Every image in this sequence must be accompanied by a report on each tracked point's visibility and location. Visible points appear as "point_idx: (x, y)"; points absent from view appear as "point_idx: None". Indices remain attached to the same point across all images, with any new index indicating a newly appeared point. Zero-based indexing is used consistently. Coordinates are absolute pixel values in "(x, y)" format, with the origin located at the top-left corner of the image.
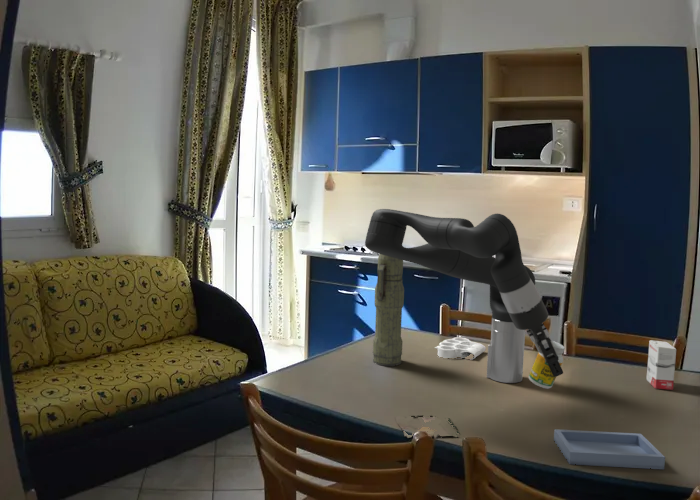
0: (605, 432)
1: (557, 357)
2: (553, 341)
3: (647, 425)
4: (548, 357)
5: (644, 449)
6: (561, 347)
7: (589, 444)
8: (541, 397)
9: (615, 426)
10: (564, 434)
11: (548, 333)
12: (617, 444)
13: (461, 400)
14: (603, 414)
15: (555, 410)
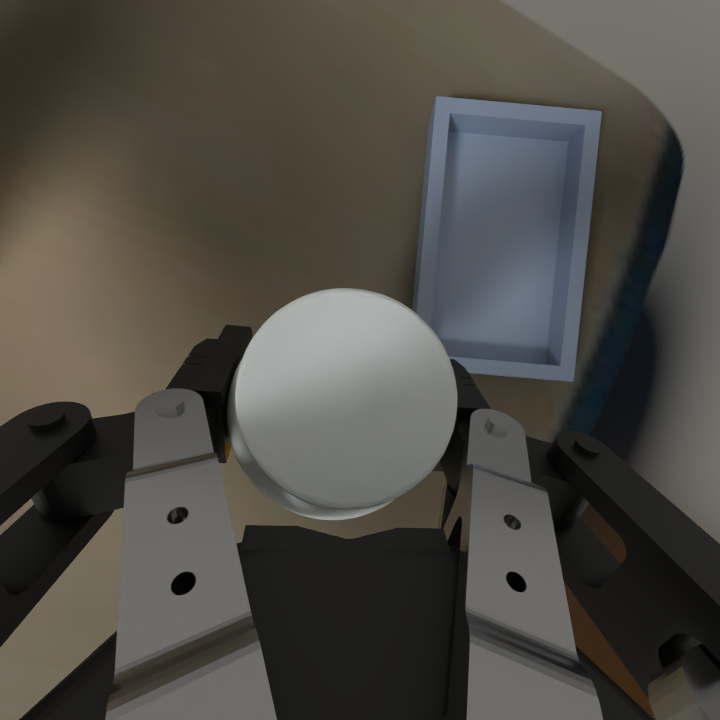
0: (431, 210)
1: (620, 462)
2: (260, 390)
3: (279, 17)
4: (558, 522)
5: (493, 131)
6: (409, 342)
7: (450, 278)
8: (45, 277)
9: (292, 128)
10: None
11: (592, 703)
12: (447, 193)
13: (97, 564)
14: (193, 121)
15: (167, 272)
